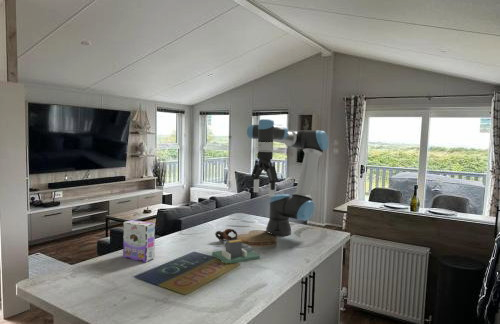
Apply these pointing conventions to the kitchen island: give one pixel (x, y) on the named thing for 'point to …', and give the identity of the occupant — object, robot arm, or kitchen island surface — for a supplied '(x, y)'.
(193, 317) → the kitchen island surface
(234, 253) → the plug
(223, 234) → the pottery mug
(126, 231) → the candy box
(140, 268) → the kitchen island surface
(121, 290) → the kitchen island surface
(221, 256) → the header board
